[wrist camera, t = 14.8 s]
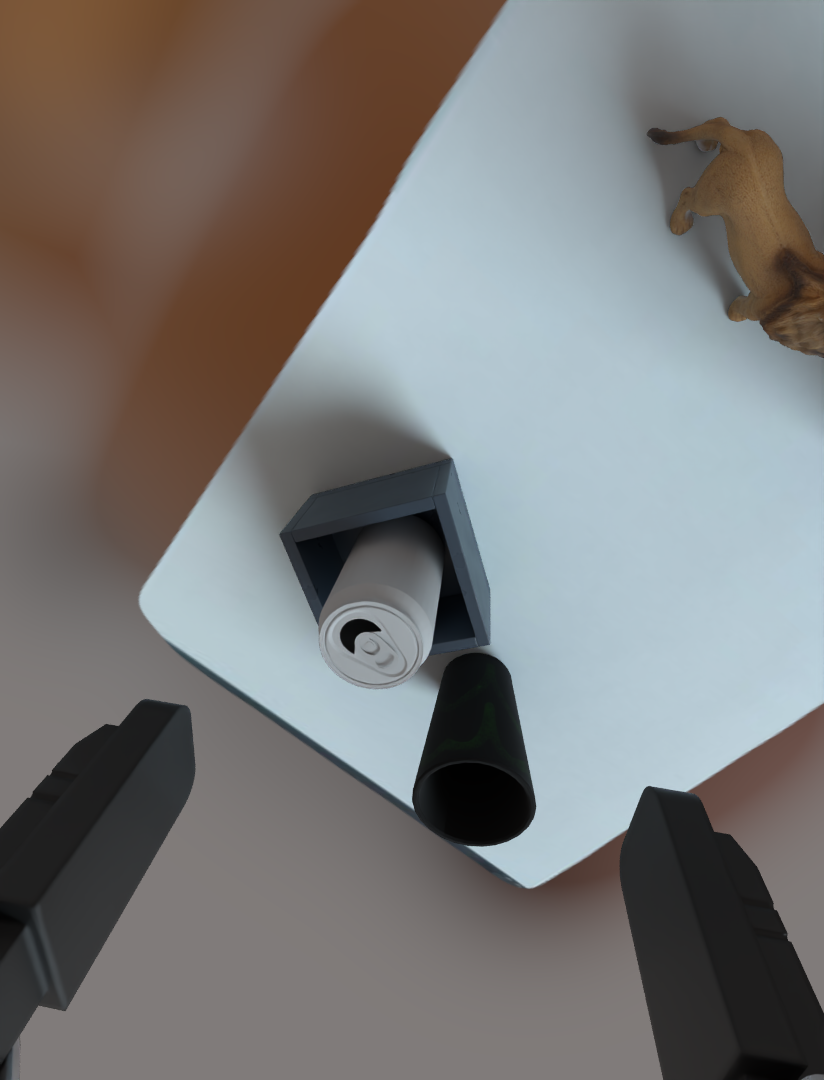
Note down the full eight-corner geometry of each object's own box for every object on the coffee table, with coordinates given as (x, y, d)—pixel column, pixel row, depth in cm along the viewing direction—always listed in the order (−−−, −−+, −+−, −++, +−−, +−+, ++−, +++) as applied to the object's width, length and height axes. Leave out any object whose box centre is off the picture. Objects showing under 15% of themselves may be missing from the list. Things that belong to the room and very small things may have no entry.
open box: (452, 457, 38) (445, 493, 32) (490, 590, 42) (490, 644, 36) (311, 494, 41) (278, 534, 35) (359, 616, 45) (337, 672, 39)
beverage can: (399, 490, 39) (364, 572, 28) (464, 552, 40) (455, 653, 29) (340, 547, 41) (287, 643, 30) (403, 604, 43) (374, 714, 32)
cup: (459, 729, 48) (450, 859, 38) (412, 664, 46) (389, 782, 35) (541, 698, 46) (557, 827, 35) (496, 627, 44) (499, 743, 33)
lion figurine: (854, 298, 32) (979, 305, 24) (768, 370, 34) (856, 399, 26) (685, 88, 29) (763, 14, 21) (603, 180, 31) (644, 146, 23)
